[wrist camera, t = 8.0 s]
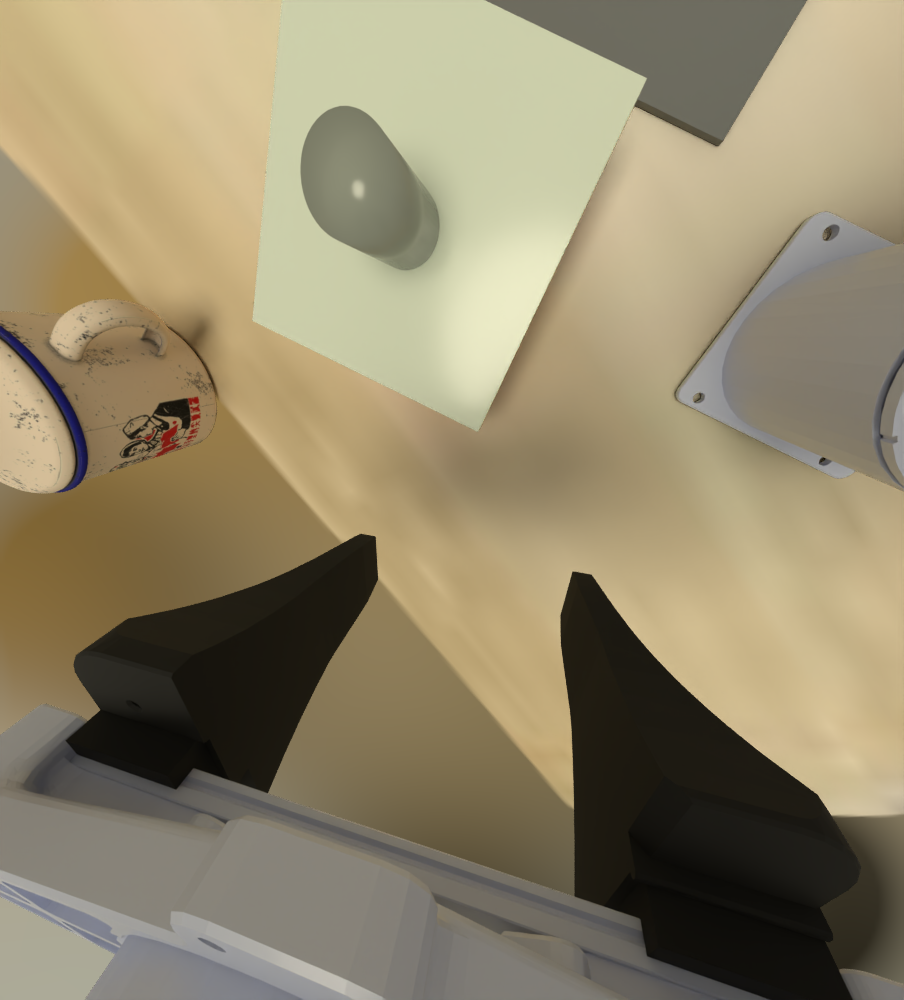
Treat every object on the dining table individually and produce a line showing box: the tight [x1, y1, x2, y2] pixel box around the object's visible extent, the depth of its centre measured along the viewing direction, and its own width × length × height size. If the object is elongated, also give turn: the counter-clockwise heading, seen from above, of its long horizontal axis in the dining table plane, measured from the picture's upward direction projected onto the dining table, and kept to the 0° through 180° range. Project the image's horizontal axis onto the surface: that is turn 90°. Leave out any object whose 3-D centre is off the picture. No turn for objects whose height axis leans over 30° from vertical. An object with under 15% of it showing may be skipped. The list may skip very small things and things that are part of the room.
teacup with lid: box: [0, 299, 217, 493], centre depth 18 cm, size 12×9×12 cm
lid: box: [252, 0, 647, 432], centre depth 11 cm, size 12×12×5 cm
